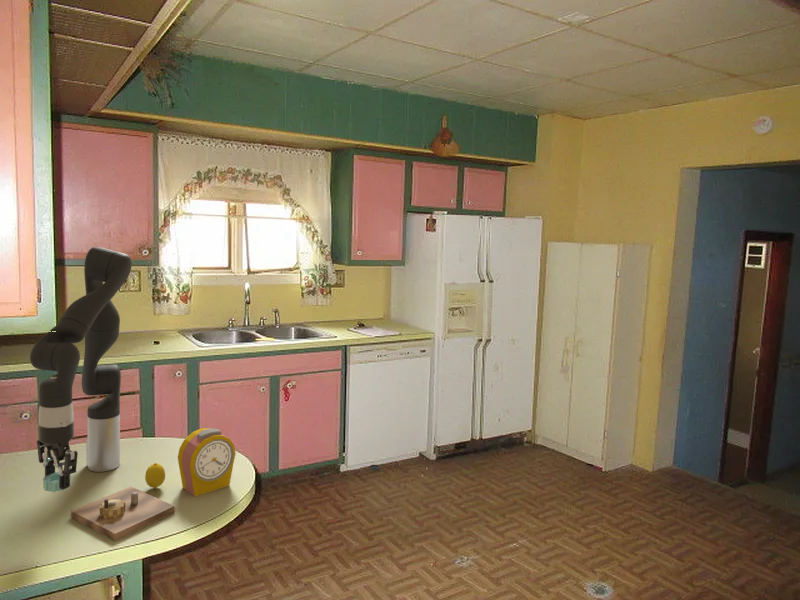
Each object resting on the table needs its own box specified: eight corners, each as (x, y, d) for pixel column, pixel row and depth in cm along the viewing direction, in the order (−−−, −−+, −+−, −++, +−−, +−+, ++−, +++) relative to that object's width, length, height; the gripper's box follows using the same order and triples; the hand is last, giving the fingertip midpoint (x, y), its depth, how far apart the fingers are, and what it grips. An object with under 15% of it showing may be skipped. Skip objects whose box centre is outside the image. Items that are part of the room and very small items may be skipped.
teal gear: (38, 487, 148) (38, 477, 148) (62, 478, 153) (62, 469, 153) (52, 494, 145) (51, 484, 145) (75, 485, 150) (75, 476, 150)
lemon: (157, 493, 175) (158, 468, 174) (141, 491, 176) (141, 465, 175) (168, 485, 180) (169, 460, 179) (152, 483, 181) (152, 458, 180)
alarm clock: (190, 499, 173) (191, 439, 170) (177, 489, 178) (178, 431, 176) (235, 484, 184) (237, 428, 181) (221, 475, 189) (223, 420, 187)
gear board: (71, 517, 159) (70, 495, 158) (131, 492, 174) (131, 472, 173) (115, 541, 149) (115, 517, 148) (174, 512, 165) (174, 490, 164)
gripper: (24, 417, 147) (26, 481, 150) (57, 432, 140) (58, 498, 143) (55, 410, 153) (56, 471, 156) (88, 423, 146) (88, 487, 149)
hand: (57, 483), depth 149 cm, fingers closed on teal gear, 6 cm apart
